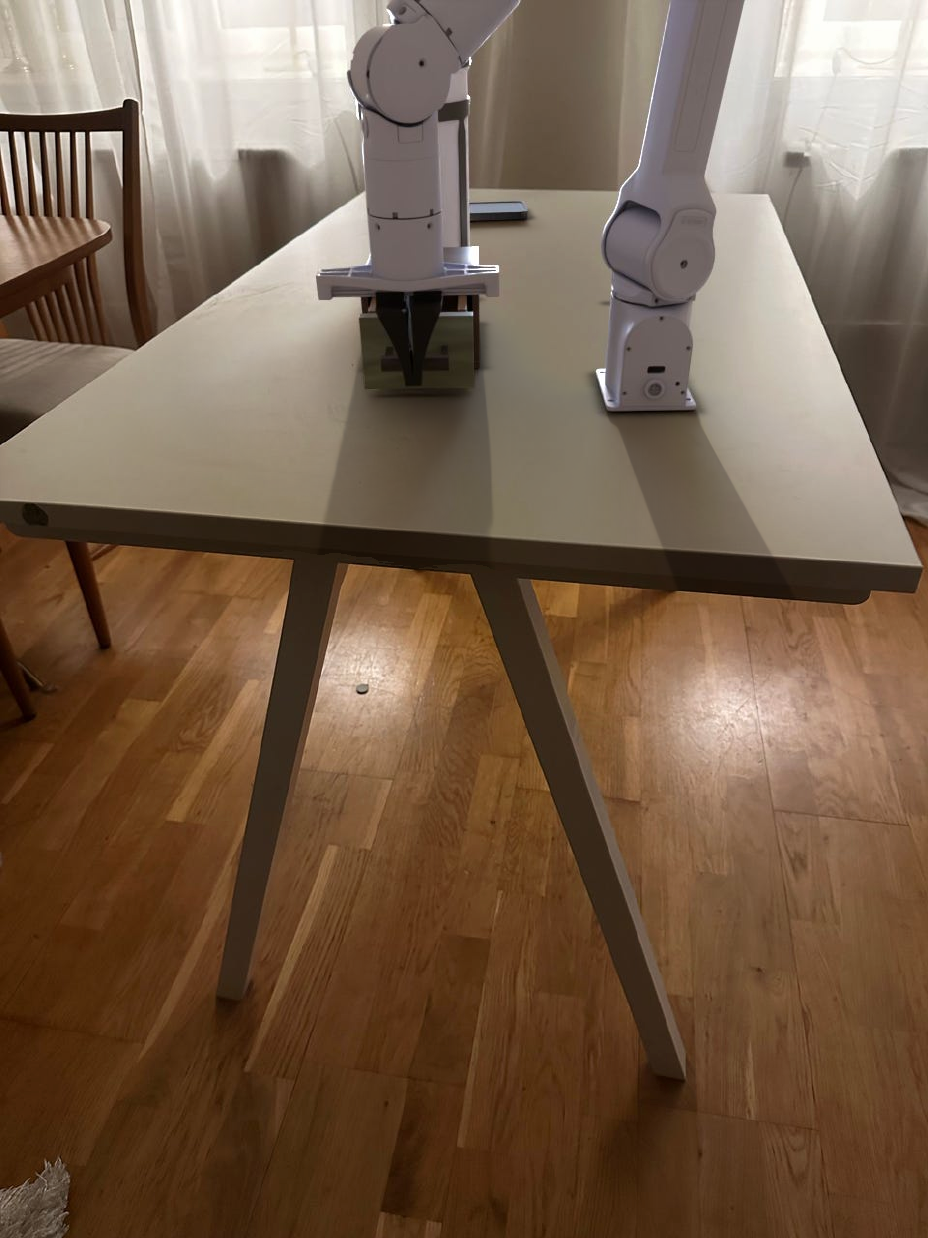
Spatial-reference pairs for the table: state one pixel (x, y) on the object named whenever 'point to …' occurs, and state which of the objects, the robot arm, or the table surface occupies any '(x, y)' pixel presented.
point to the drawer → (444, 356)
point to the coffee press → (451, 161)
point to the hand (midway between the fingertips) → (414, 381)
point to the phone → (497, 210)
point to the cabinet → (470, 258)
